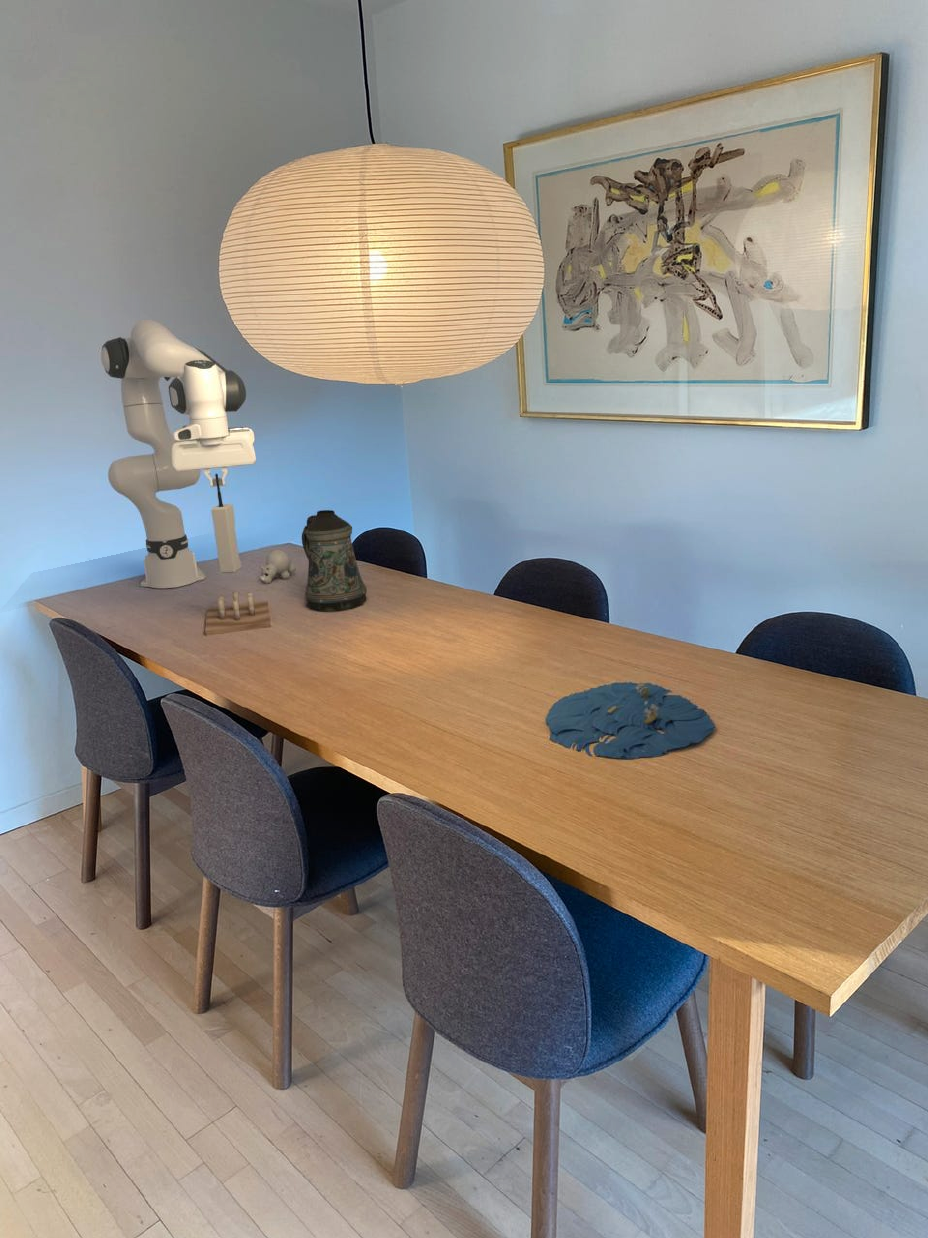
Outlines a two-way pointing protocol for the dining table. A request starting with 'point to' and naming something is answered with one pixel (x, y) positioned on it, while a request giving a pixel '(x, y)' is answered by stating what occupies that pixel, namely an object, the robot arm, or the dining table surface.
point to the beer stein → (331, 564)
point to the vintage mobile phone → (225, 535)
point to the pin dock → (237, 615)
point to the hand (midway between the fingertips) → (218, 485)
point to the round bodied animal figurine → (277, 566)
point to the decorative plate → (627, 720)
